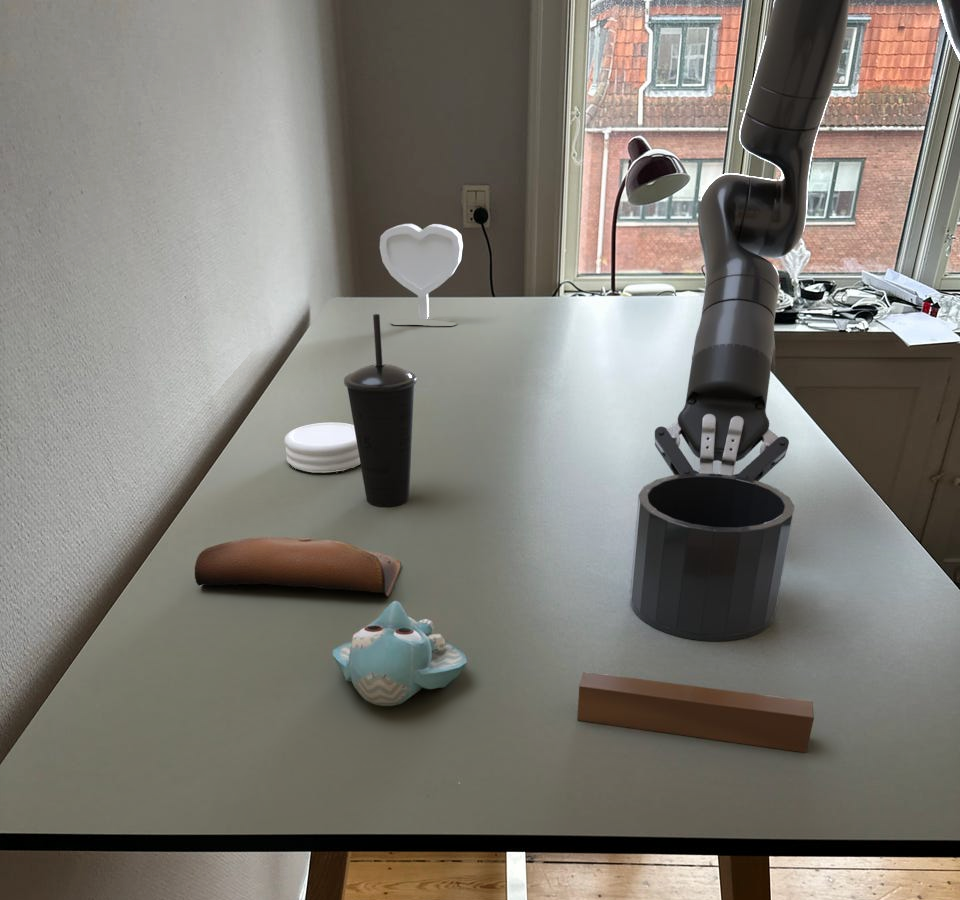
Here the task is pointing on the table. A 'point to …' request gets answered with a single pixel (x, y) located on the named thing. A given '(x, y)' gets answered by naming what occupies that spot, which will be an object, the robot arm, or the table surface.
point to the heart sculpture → (421, 258)
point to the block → (696, 711)
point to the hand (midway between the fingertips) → (708, 529)
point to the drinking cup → (383, 426)
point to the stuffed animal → (397, 658)
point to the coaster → (323, 447)
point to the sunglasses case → (297, 565)
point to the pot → (709, 555)
